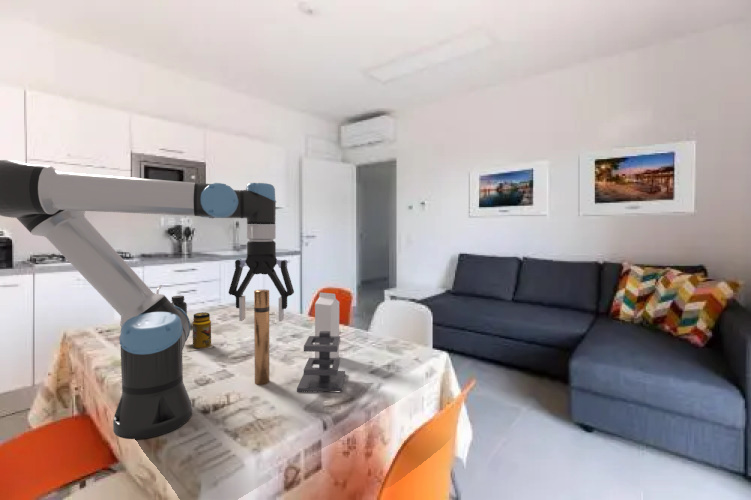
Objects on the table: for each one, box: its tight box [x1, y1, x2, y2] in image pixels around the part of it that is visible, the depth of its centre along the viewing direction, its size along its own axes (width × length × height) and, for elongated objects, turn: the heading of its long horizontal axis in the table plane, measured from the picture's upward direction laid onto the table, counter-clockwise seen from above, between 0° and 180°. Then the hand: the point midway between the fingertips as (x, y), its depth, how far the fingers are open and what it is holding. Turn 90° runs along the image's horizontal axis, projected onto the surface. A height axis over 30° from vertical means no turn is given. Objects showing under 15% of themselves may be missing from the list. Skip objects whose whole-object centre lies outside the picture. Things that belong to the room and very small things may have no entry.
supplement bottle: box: [171, 295, 188, 315], centre depth 162 cm, size 7×7×12 cm
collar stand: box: [296, 331, 346, 393], centre depth 104 cm, size 12×12×13 cm
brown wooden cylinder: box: [253, 289, 271, 386], centre depth 104 cm, size 4×4×26 cm
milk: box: [314, 292, 340, 358], centre depth 123 cm, size 6×6×22 cm
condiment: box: [184, 311, 214, 352], centre depth 133 cm, size 7×8×12 cm
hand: (261, 319), depth 103 cm, fingers open, 10 cm apart
